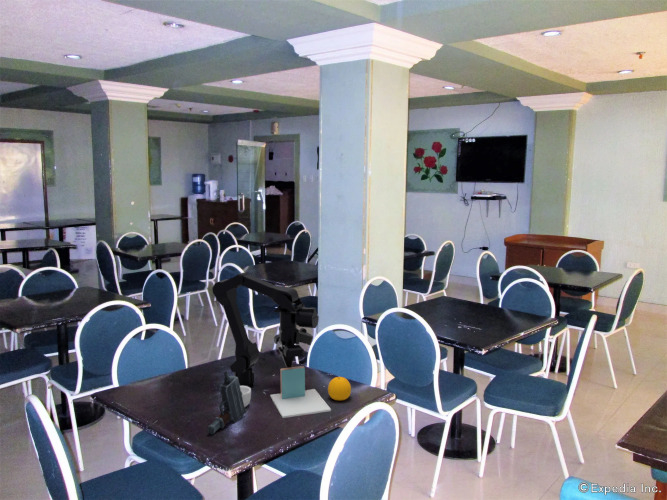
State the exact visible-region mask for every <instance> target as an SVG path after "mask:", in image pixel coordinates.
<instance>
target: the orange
mask: <svg viewBox="0 0 667 500" xmlns="http://www.w3.org/2000/svg"><path fill="white" fill-rule="evenodd" d="M327 393H328V395H329V397H330V398H331V399H333V400H334V401H345V400H348V398H349V397H350V396H351V393H352V385H351V383H350V382H349V380H348V379H347V378H346V377H344V376H336V377H333V378H332V379H331V380H330V381H329V384H328V386H327Z"/></svg>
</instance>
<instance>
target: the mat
mask: <svg viewBox="0 0 667 500" xmlns="http://www.w3.org/2000/svg"><path fill="white" fill-rule="evenodd" d="M269 396H270V399H271V400H272V403H273V404H274V406H275V408H276V409H277V410H278V413H279V414H280V416H281V418H282V419H287V418H291V417H300V416H301V417H302V416H306V415H307V416H308V415H313V414H314V415H315V414H321V413H327V412H332V409H331V407H330V406H329V405H328V404H327V402H326V401H325V400H324V399H323V397H322V396H321V395H320V393H319V392H318V391H317V390H316V388H312V389H305V396H302V397H295V398H287V399H282V398H281V392H280V393H273V394H270V395H269Z"/></svg>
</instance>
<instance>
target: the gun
mask: <svg viewBox="0 0 667 500" xmlns="http://www.w3.org/2000/svg"><path fill="white" fill-rule="evenodd" d="M223 374H224V379H223V382H222V383H221V384H220V386H219V394H220V398H221V402H220V403H219V407H218V408H219V412H220V414H218V416H217V417H215V418H214V421H213V422H212V423H211V424H209V425H208V426H207V430H208V431H207V432H208V433H209V435H213V436H214V435H215V434H216V432H217V431H218V430H219V429H224V428H225V426H226V424H228V423H229V422H231V423H235V424H236V423H238V421H239V420H240V419H241V418H242V417H243V416H244V415H245V414H246V413H247V412H248V410H247V409H246V407H244V403H243V398H242V392H241V389H240V385H239V380H238V377H235V376H234V375H229V371H228V370H225V371H223Z"/></svg>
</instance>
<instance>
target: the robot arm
mask: <svg viewBox="0 0 667 500" xmlns="http://www.w3.org/2000/svg"><path fill="white" fill-rule="evenodd" d="M241 286H242V287H244V288H247V289H250V290H251V291H254V292H256V293H259V294H261V295H263V296H266V297H268V298H270V299H271V301H272V302H273V303H275V304H276V305H278V306H277V307H276V308H275V309H274V310H273V312H274V313H279V327H278V331H279V334H276V335H275V336H274V337H273V343H274V344H275V345H278V343H279V347H277V350H278V352H279V354H280V356H281V358H282V360H283V362H284V365H285V368H291V367H292V365H293V361H294V358H296V357H304V356H305V350H304V349H303V347H302V346H301V344H300V343H302V344H306V345H308V346H311V344H312V342H313V340H314V336H313V335H312V334H311V333H309V332H308V331H307V329H306V328H310V329H316V328H317V327H318V325H319V317H320V316H319V313H318V311H317V307H306V305H305V304H304V303H303V301H302V299H301V298H300V296H299V293H298V290H296V289H295V288H293V287H288V286H282V285H281V286H280V285H275V284H273V283H270V282H268V281H265V280H263V279H260V278H258V277H256V276H253V275H251V274H249V273H247V272H245V271H244V272H241V273H237V274H236V275H235V276H233V277H231V278H227V279H223V280H220V281H216V282H215V283H214V284H213V286H212V288H211V291H212V294H213V296H214V297H215V300H216V301H217V303H219V304H220V305H221V306H222V308H223V310H224V314H225V316H226V320H227V322H228V325H229V329H230V331H231V334H232V337H233V340H234V342H235V350H234V356H235V361H234V362H233V363H232V364H231V365H230V366H229V368H230V371H231V373H233V376H235V377H238V380H239V385H240V386H247V387H250V388H255V387H254V386H255V385H254V384H255V373H254V371H253V368H252V367H255V366H256V365H255V364H256V363H257V362H258V360H259V359H260V353H261V351H260V350H259V348H258V344H257V342H252V341H251V340H250V339H249V336H248V334H247V331H246V327H245V325H244V322H243V318H242V316H241V313H240V309H239V307H238V306H239V305H238V304H237V297H238V296H237V295H238V292H237V289H238V288H240V287H241ZM297 326H298V327H300V329H299V328H298V327H297Z"/></svg>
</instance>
